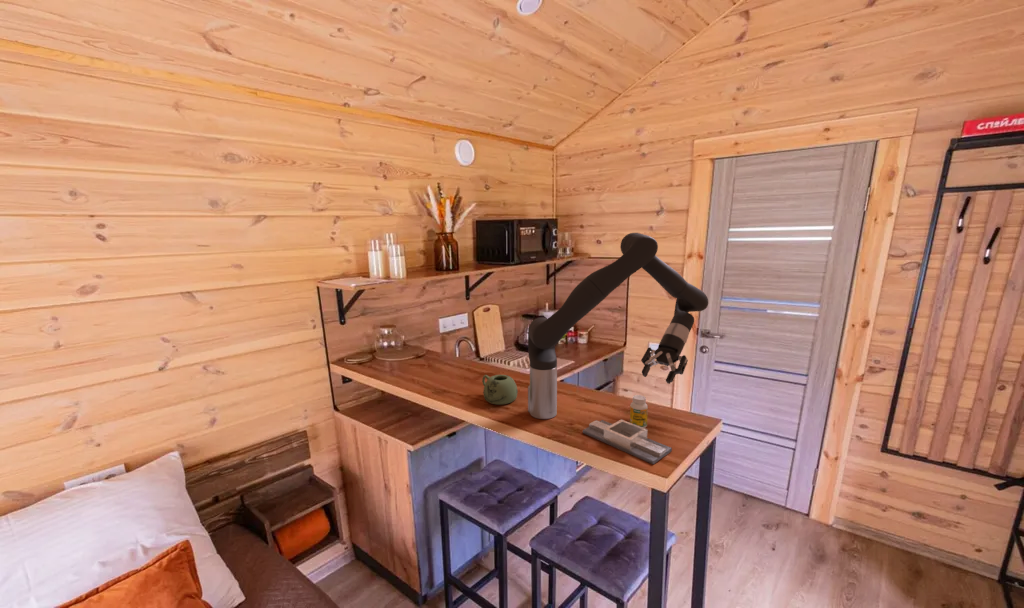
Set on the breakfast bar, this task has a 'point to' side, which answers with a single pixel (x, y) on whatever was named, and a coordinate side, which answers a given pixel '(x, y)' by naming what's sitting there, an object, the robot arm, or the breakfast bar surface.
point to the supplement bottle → (639, 411)
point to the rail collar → (628, 439)
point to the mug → (499, 389)
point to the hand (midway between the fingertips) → (655, 379)
